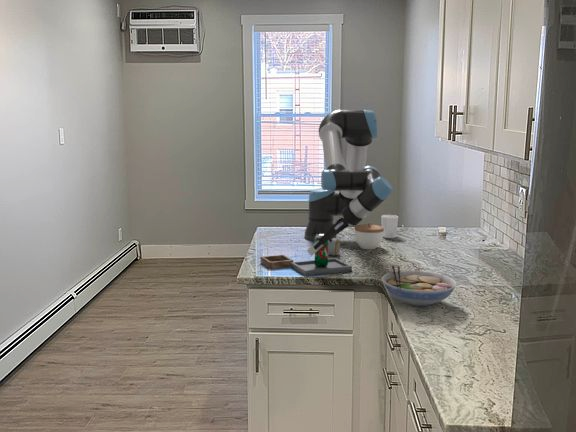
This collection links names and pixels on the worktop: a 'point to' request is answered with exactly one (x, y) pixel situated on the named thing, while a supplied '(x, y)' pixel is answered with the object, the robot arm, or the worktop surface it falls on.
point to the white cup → (389, 225)
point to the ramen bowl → (418, 286)
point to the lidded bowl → (368, 235)
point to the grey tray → (310, 269)
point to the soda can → (321, 254)
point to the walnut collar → (276, 261)
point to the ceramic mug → (333, 247)
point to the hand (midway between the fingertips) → (312, 251)
